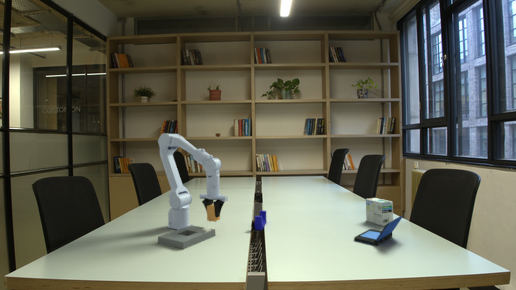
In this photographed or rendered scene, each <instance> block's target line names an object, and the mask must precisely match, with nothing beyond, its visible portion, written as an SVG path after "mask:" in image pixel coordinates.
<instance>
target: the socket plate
mask: <svg viewBox="0 0 516 290" xmlns="http://www.w3.org/2000/svg"><path fill="white" fill-rule="evenodd" d="M215 236H216V229H215V228H214V229H213V228H212V227H209V226H207V227H203V226H198V225H194V224H191V225H190V226H187V227H184V228H181V229H178V230H177V229H174V230H173V231H171V232H167V233H164V234H161V235H158V236H157V244H161V245H164V246H168V247H173V248H176V249H182V250H186V249H188V248H191V247H192V246H194V245H197V244H199V243H201V242H203V241H206V240H208V239H210V238H213V237H215Z"/></svg>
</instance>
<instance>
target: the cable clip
mask: <svg viewBox="0 0 516 290" xmlns="http://www.w3.org/2000/svg"><path fill="white" fill-rule="evenodd" d="M266 225H267V210H259V215H255V216H254V230H255V231H262V230H263V229H264V228H265V226H266Z"/></svg>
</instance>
